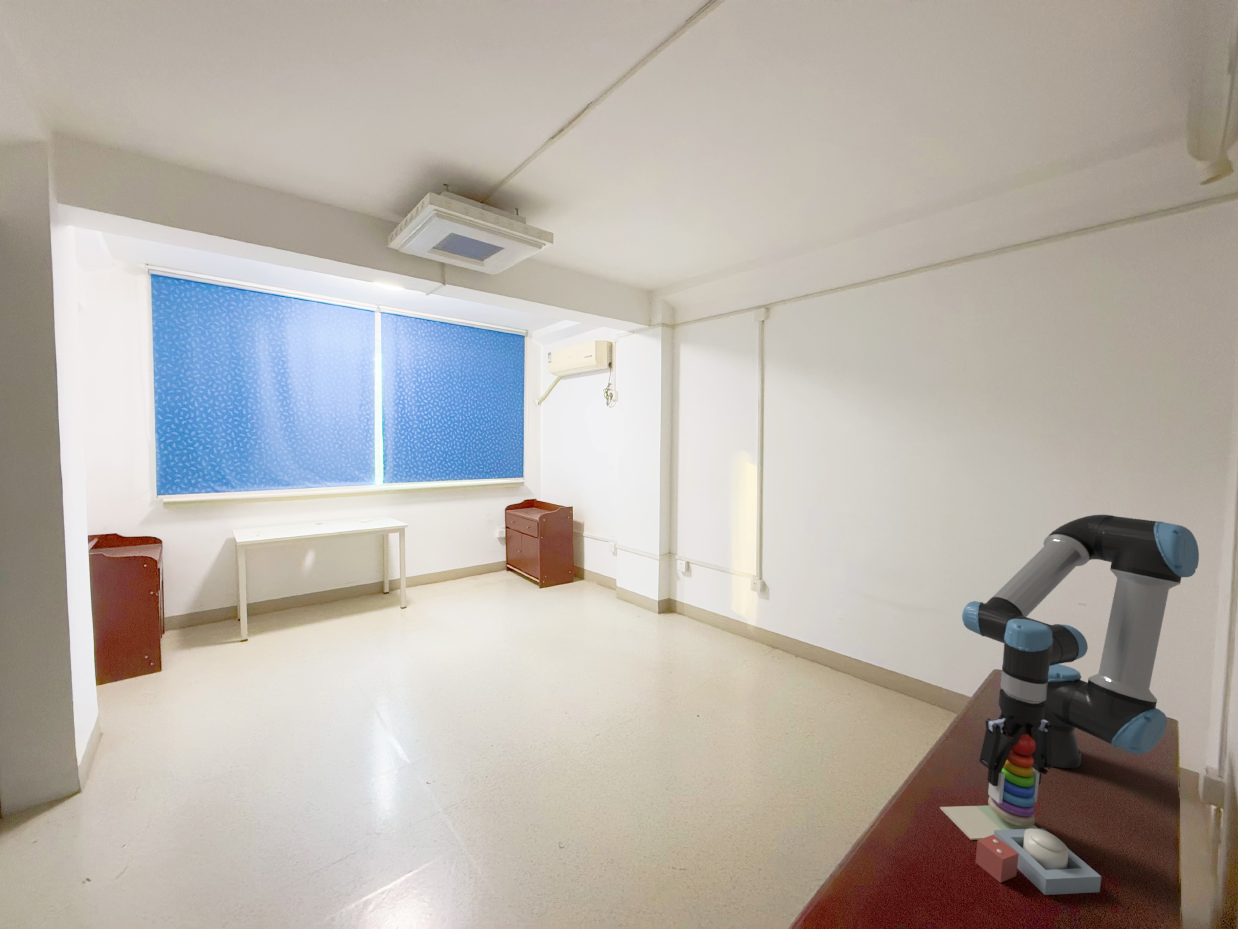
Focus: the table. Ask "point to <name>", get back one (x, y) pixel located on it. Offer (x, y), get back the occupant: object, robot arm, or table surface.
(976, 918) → the table surface
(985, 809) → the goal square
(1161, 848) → the table surface
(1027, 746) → the stacking toy
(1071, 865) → the dome base
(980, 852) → the pink rectangular block
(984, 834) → the square
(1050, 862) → the dome button
